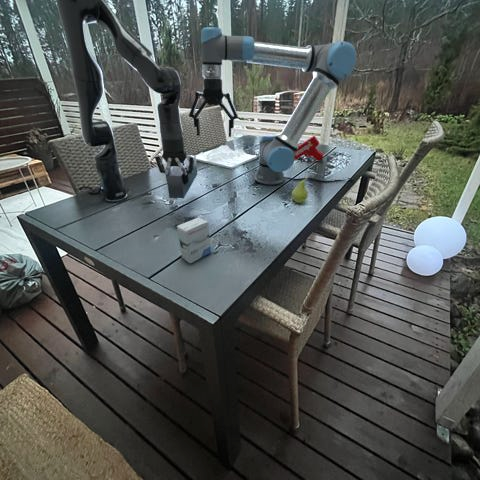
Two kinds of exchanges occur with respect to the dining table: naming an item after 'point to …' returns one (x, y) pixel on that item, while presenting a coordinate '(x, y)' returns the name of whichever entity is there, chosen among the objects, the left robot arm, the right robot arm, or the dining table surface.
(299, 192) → the fruit
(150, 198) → the dining table surface
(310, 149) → the toy gun
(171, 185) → the bar
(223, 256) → the dining table surface
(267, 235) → the dining table surface
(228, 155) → the relief map
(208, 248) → the ink box
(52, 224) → the dining table surface
